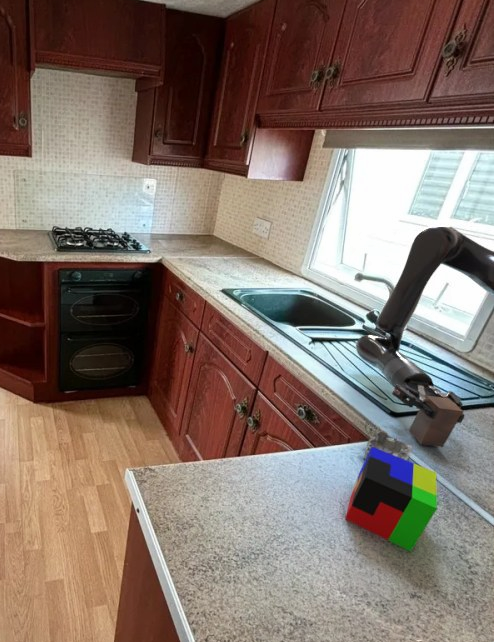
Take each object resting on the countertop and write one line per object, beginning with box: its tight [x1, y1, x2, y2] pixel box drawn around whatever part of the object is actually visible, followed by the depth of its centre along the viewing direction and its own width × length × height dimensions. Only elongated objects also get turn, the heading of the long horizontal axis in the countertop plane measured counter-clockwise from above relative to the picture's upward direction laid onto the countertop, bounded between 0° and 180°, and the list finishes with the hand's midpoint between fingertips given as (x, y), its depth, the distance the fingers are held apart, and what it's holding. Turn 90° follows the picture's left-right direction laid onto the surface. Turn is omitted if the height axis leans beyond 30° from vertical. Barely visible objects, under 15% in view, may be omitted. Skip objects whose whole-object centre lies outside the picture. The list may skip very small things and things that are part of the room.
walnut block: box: [408, 396, 464, 448], centre depth 92 cm, size 5×5×10 cm
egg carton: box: [362, 426, 413, 461], centre depth 87 cm, size 11×8×4 cm
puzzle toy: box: [344, 447, 438, 552], centre depth 71 cm, size 10×10×10 cm
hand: (447, 417), depth 88 cm, fingers closed on walnut block, 5 cm apart
